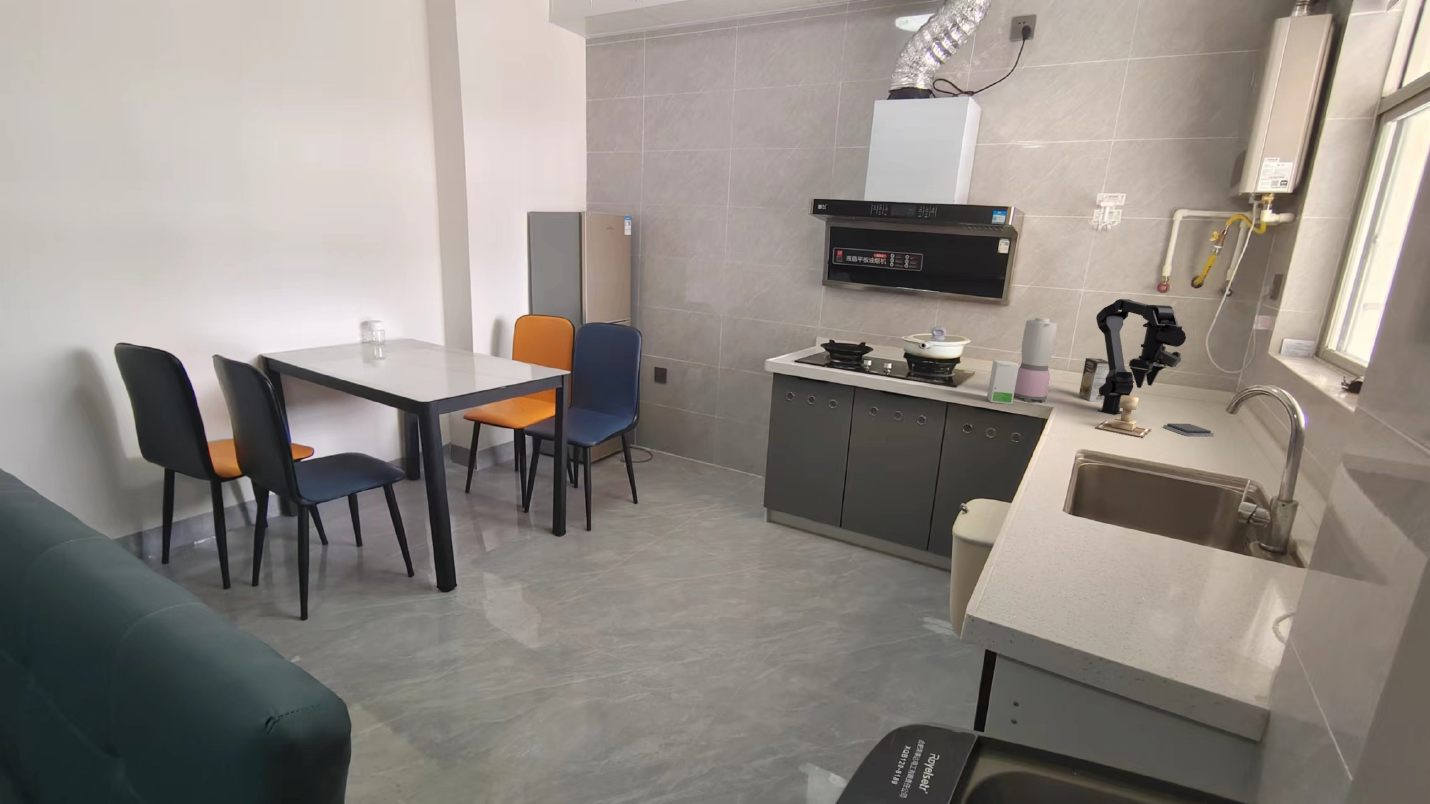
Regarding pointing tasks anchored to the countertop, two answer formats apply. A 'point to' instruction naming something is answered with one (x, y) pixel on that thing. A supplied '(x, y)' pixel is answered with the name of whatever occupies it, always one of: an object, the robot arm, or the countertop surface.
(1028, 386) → the blender
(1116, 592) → the countertop surface
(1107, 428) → the stamp board
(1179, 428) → the ink pad
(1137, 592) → the countertop surface
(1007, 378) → the skincare box
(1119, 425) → the rubber stamp
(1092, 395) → the coffee box
